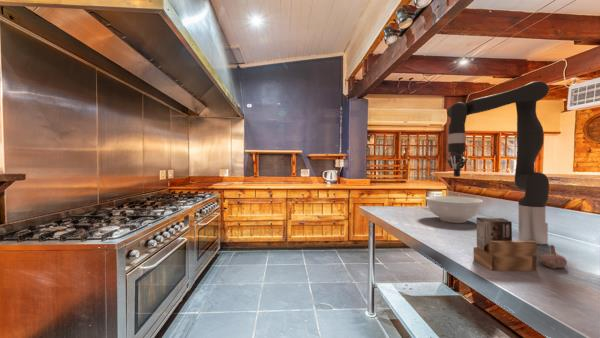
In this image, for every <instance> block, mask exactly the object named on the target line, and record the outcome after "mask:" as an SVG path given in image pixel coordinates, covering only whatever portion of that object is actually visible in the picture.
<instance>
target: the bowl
mask: <svg viewBox="0 0 600 338" xmlns="http://www.w3.org/2000/svg"><path fill="white" fill-rule="evenodd" d="M425 200H426V202H427V205H428V209H429V211H430V212H431V213H433V215H435V216H437V217H439V220H440V221H442V222H447V223H457V224H462V223H467V222H468V219H471V218H473V217H476V216H477V215H478V213H479V211H480V210H481V209H480V208H481V205H482V204H483V203H484V201H483V199H481V198H476V197H468V196H456V195H455V196H454V195H452V196H451V195H443V196H442V195H431V196H426V197H425Z"/></svg>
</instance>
